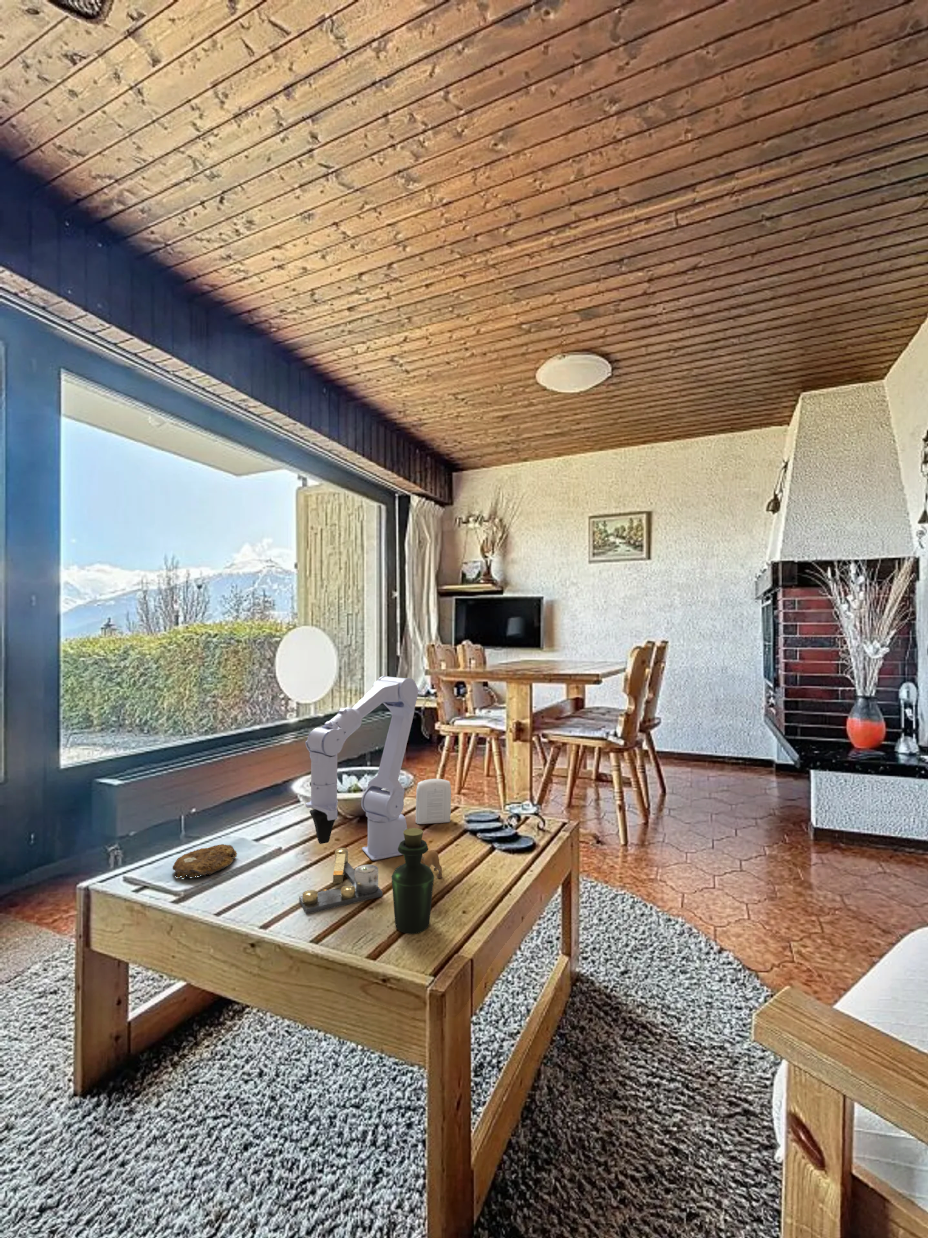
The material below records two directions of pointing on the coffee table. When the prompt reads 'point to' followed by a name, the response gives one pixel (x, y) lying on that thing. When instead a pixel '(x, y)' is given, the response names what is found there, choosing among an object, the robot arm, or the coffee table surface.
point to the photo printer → (433, 801)
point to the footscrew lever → (340, 864)
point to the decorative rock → (204, 861)
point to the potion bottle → (412, 885)
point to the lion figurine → (432, 861)
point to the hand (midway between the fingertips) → (323, 842)
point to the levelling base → (335, 895)
